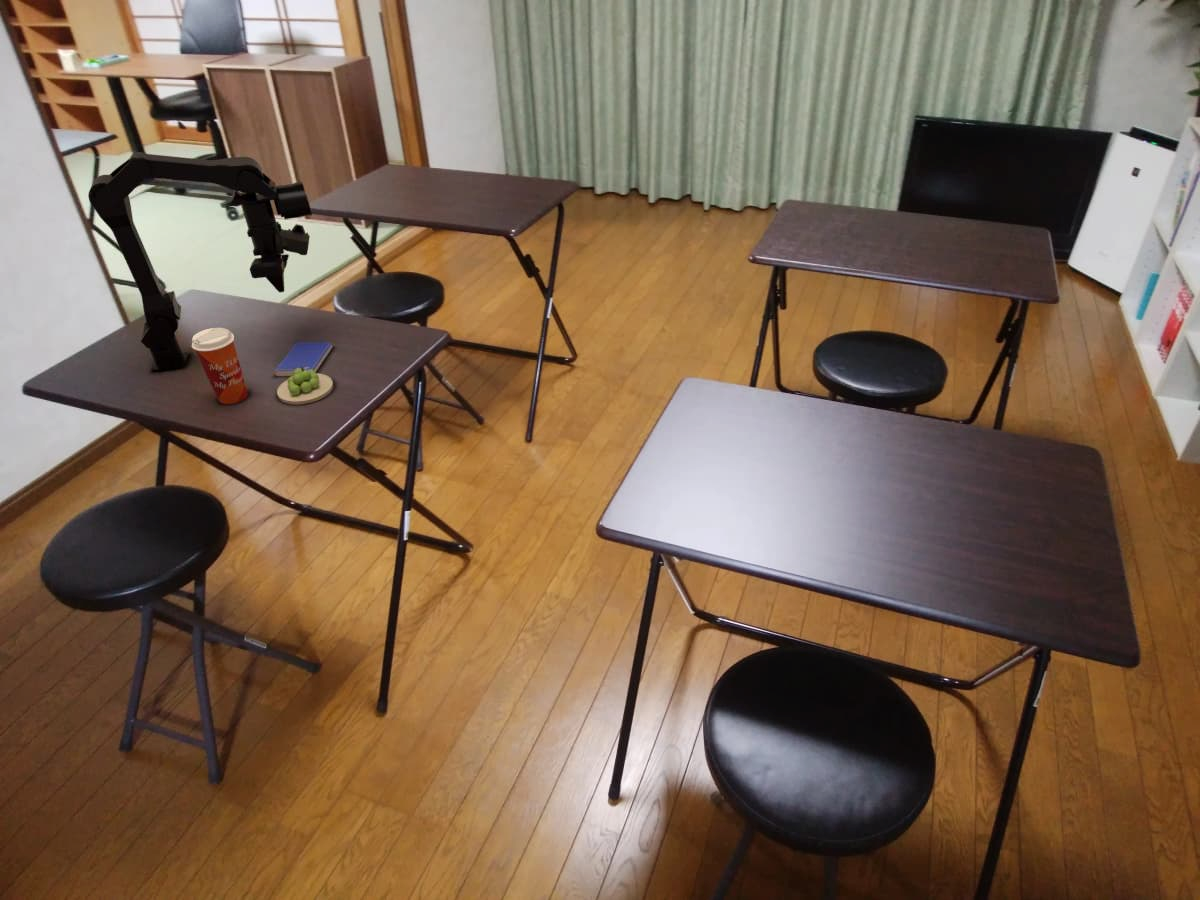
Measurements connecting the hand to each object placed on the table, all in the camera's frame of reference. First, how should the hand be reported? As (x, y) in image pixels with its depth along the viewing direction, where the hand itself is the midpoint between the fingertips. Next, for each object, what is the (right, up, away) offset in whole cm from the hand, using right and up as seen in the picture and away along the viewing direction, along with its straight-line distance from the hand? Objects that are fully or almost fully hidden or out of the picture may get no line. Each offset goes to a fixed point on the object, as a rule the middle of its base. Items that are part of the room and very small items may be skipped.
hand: (281, 291), depth 168 cm
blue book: (+6, -16, -1) cm, 17 cm away
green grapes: (+10, -23, -11) cm, 27 cm away
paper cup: (-5, -24, -12) cm, 28 cm away
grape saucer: (+10, -23, -11) cm, 27 cm away
